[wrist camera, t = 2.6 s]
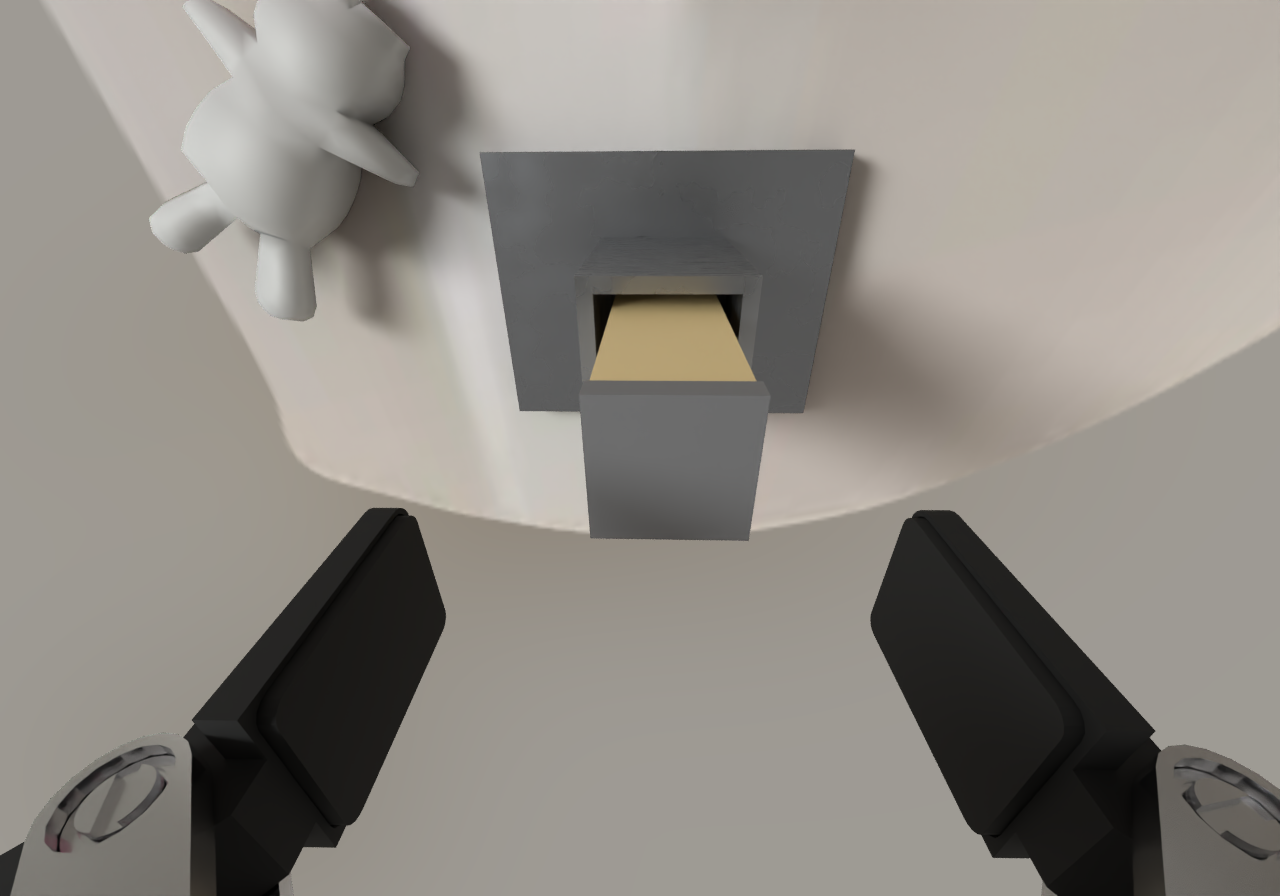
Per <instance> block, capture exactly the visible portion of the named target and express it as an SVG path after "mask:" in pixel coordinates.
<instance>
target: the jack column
mask: <svg viewBox="0 0 1280 896" xmlns="http://www.w3.org/2000/svg"><path fill="white" fill-rule="evenodd" d="M770 397H771V396H770V394H769V392H768V390H767V388H766V386H765V384H764V382H763V381H756V379H755V377H754V375H753V372H752V370H751V368H750V366H749V364H748V362H747V360H746V358H745V355H744V353H743V351H742V349H741V347H740V345H739V343H738V340H737V338H736V336H735V334H734V332H733V330H732V328H731V325H730V323H729V321H728V319H727V317H726V315H725V313H724V311H723V308H722V306H721V304H720V302H719V300H718V298H717V296H716V294H616V296H615V299H614V302H613V305H612V309H611V312H610V315H609V318H608V322H607V325H606V328H605V331H604V335H603V338H602V341H601V344H600V348H599V351H598V354H597V357H596V361H595V364H594V367H593V370H592V374H591V377H590V380H584V381H583V384H582V387H581V390H580V393H579V401H580V414H581V426H582V439H583V451H584V463H585V476H586V488H587V501H588V513H589V525H590V537H591V538H606V539H610V538H612V539H673V540H678V539H679V540H739V541H740V540H741V541H748V540H749V534H750V528H751V521H752V515H753V508H754V502H755V495H756V488H757V482H758V475H759V469H760V462H761V456H762V449H763V443H764V436H765V429H766V423H767V416H768V410H769V403H770Z"/></svg>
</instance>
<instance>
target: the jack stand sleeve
mask: <svg viewBox="0 0 1280 896" xmlns="http://www.w3.org/2000/svg"><path fill="white" fill-rule="evenodd" d="M854 152H855V150H742V151H612V152H482V153H480V158H481V164H482V171H483V177H484V183H485V190H486V196H487V203H488V209H489V216H490V222H491V228H492V235H493V241H494V248H495V254H496V261H497V267H498V273H499V280H500V286H501V293H502V299H503V306H504V312H505V319H506V325H507V331H508V338H509V344H510V351H511V357H512V364H513V370H514V376H515V383H516V389H517V396H518V402H519V409H520V411H580V401H579V393H580V390H581V387H582V384H583V381H584V380H590V377H591V374H592V370H593V367H594V364H595V361H596V357H597V354H598V351H599V348H600V344H601V341H602V338H603V335H604V331H605V328H606V325H607V322H608V318H609V315H610V312H611V309H612V305H613V302H614V299H615V296H616V294H716V296H717V298H718V300H719V302H720V304H721V306H722V308H723V311H724V313H725V315H726V317H727V319H728V321H729V323H730V325H731V328H732V330H733V332H734V334H735V336H736V338H737V340H738V343H739V345H740V347H741V349H742V351H743V353H744V355H745V358H746V360H747V362H748V364H749V366H750V368H751V370H752V372H753V375H754V377H755V379H756V381H763V382H764V384H765V386H766V388H767V390H768V392H769V394H770V396H771V397H770V403H769V410H768V413H803V411H804V406H805V401H806V396H807V391H808V386H809V381H810V376H811V371H812V366H813V361H814V355H815V350H816V345H817V340H818V335H819V330H820V325H821V320H822V315H823V310H824V304H825V299H826V294H827V289H828V284H829V279H830V274H831V269H832V264H833V259H834V254H835V248H836V243H837V238H838V233H839V228H840V223H841V218H842V213H843V208H844V203H845V197H846V192H847V187H848V182H849V177H850V172H851V167H852V162H853V157H854Z"/></svg>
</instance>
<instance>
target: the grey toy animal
mask: <svg viewBox="0 0 1280 896" xmlns="http://www.w3.org/2000/svg"><path fill="white" fill-rule="evenodd" d="M183 9H184V10H185V11H186V13H187V14H188V15H189V17H190V18H191V20H192V21H193V22H194V24H195V25H196V26H197V28H198V29H199V31H200V32H201V33H202V35H203V36H204V38H205V39H206V40H207V42H208V43H209V44H210V46H211V47H212V49H213V50H214V51H215V53H216V54H217V55H218V57H219V58H220V60H221V61H222V63H223V64H224V65H225V67H226V68H227V70H228V71H229V73H230V74H231V76H232V78H230V79H229V80H227V81H225V82H224V83H222V84H221V85H219V86H217V87H216V88H214V89H212V90H211V91H209V93H208V94H207V95H206V96H205V98H204V99H203V100H202V101H201V103H200V104H199V105H198V106H197V108H196V109H195V111H194V113H193V115H192V117H191V119H190V120H189V122H188V124H187V126H186V128H185V133H184V138H183V143H182V148H181V151H182V152H183V154H184V155H185V156H186V157H187V158H188V160H189V161H190V162H191V163H192V165H193V166H194V167H195V168H196V170H197V171H198V172H199V173H200V174H201V176H202V177H203V178H204V179H205V181H206V183H203V184H201V185H199V186H197V187H195V188H193V189H191V190H189V191H187V192H184V193H182V194H180V195H178V196H176V197H174V198H172V199H170V200H168V201H166V202H165V203H164V204H163V205H162V206H161V207H160V208H159V209H158V210H157V211H156V212H155V213H154V214H153V215H152V216H151V217H150V218H149V221H150V225H151V229H152V232H153V234H154V235H155V236H156V237H157V238H158V239H159V240H160V241H161V242H162V243H163V244H164V245H165V246H167V247H169V248H171V249H173V250H175V251H179V252H183V253H192V252H198V251H200V250H201V249H202V248H203V247H204V246H205V245H206V244H208V243H209V242H210V241H211V240H212V239H213V238H215V237H216V236H217V235H218V234H219V233H220V232H222V231H223V230H224V229H225V228H226V227H227V226H229V225H230V224H231V223H232V222H233V221H234V220H236V219H237V218H238V219H239V220H240V221H242V222H243V223H244V224H245V225H246V226H248V227H249V228H250V229H251V230H254V231H256V232H258V233H260V241H259V251H258V262H257V272H256V282H255V293H256V296H257V300H258V303H259V304H260V305H261V307H262V308H263V310H264V311H266V312H267V313H268V314H269V315H270V316H272V317H276V318H279V319H283V320H294V321H305V320H308V319H310V318H312V317H313V316H314V313H315V310H316V307H317V305H316V296H315V287H314V279H313V270H312V262H311V253H310V248H312V247H313V246H314V245H315V244H317V243H318V242H319V241H321V240H322V239H323V238H325V237H326V236H327V235H329V234H330V233H331V232H332V231H334V230H335V229H336V228H338V226H339V225H340V224H341V222H342V221H343V220H344V218H345V217H346V215H347V214H348V212H349V210H350V208H351V206H352V204H353V201H354V199H355V197H356V194H357V191H358V187H359V184H360V180H361V168H363V169H365V170H367V171H369V172H371V173H374V174H376V175H378V176H380V177H382V178H384V179H386V180H388V181H390V182H392V183H394V184H398V185H404V186H410V187H414V184H415V182H416V179H417V176H418V174H419V172H418V171H417V170H416V169H415V168H414V167H413V165H412V164H411V163H410V162H409V161H408V160H407V159H406V158H405V157H404V156H403V155H402V154H401V153H400V152H399V151H398V150H397V149H396V148H395V147H394V146H393V145H392V144H391V143H390V142H389V141H388V140H387V139H386V137H384V136H383V135H382V134H381V133H380V132H379V131H378V130H377V129H376V128H375V127H374V126H373V124H375V123H377V122H379V121H381V120H382V119H384V118H386V117H388V116H389V115H390V114H391V113H392V111H393V110H394V109H395V108H396V106H397V105H398V104H399V103H400V100H401V97H402V93H403V89H404V60H405V58H406V56H407V54H408V52H409V50H410V47H409V46H408V45H407V44H406V43H405V42H404V41H403V40H402V39H401V38H400V37H399V36H398V35H397V34H396V33H395V32H393V31H392V30H391V29H390V28H389V27H388V26H387V25H386V24H385V23H384V22H383V21H382V20H381V19H380V18H379V17H378V16H376V15H375V14H374V13H373V12H372V11H371V10H369V9H368V8H367V7H366V6H365V5H364V3H363V2H362V1H361V0H257V4H256V7H255V11H254V22H255V29H254V28H253V27H252V26H250V25H249V24H247V23H246V22H245V21H243V20H242V19H241V18H239V17H238V16H237V15H235V14H234V13H233V12H231V11H230V10H228V9H227V8H225V7H223V6H221V5H219V4H217V3H216V2H214V1H212V0H187V1H186V3H185V4H184V5H183Z"/></svg>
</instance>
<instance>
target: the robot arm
mask: <svg viewBox="0 0 1280 896" xmlns="http://www.w3.org/2000/svg"><path fill="white" fill-rule="evenodd" d="M445 620H446V613H445V608H444V605H443V602H442V599H441V596H440V592H439V589H438V586H437V582H436V579H435V576H434V573H433V570H432V567H431V564H430V560H429V557H428V554H427V551H426V548H425V545H424V541H423V538H422V535H421V532H420V529H419V525H418V522H417V520H416V518H415V517H414V516H409V515H408V513H407V511H406V510H405V509H402V508H372V509H369V510H368V511H367V512H365V513H364V515H363V516H362V517H361V518H360V520H359V521H358V522H357V523H356V524H355V525H354V527H353V528H352V529H351V530H350V531H349V532H348V534H347V535H346V536H345V537H344V538H343V540H342V541H341V542H340V543H339V545H338V546H337V547H336V548H335V549H334V550H333V552H332V553H331V554H330V555H329V556H328V558H327V559H326V560H325V561H324V562H323V564H322V565H321V566H320V567H319V568H318V570H317V571H316V572H315V573H314V574H313V576H312V577H311V578H310V579H309V580H308V582H307V583H306V584H305V585H304V586H303V588H302V589H301V590H300V591H299V592H298V593H297V595H296V596H295V597H294V598H293V599H292V601H291V602H290V603H289V604H288V605H287V607H286V608H285V609H284V610H283V612H282V613H281V614H280V615H279V616H278V617H277V619H276V620H275V621H274V622H273V624H272V625H271V626H270V627H269V628H268V630H267V631H266V632H265V633H264V634H263V635H262V637H261V638H260V639H259V640H258V641H257V643H256V644H255V645H254V646H253V647H252V648H251V650H250V651H249V652H248V653H247V654H246V656H245V657H244V658H243V659H242V660H241V662H240V663H239V664H238V665H237V666H236V668H235V669H234V670H233V671H232V672H231V674H230V675H229V676H228V677H227V679H226V680H225V681H224V682H223V683H222V684H221V686H220V687H219V688H218V689H217V690H216V692H215V693H214V694H213V695H212V696H211V698H210V699H209V700H208V701H207V702H206V703H205V705H204V706H203V707H202V708H201V710H200V711H199V712H198V713H197V714H196V715H195V717H194V718H193V719H192V721H193V722H194V723H195V724H194V725H193V726H192V728H191V729H190V730H189V731H188V733H187V734H186V735H185V736H184V737H182V736H180V735H179V734H171V733H159V734H153V735H148V736H143V737H141V738H138V739H136V740H133V741H131V742H128V743H126V744H123V745H121V746H119V747H117V748H116V749H114V750H112V751H110V752H108V753H107V754H105V755H103V756H101V757H100V758H98V759H97V760H95V761H94V762H92V763H91V764H90V765H88V766H87V767H86V768H84V769H83V770H82V771H80V772H79V773H78V774H76V775H75V776H74V777H72V778H71V779H70V780H69V781H68V782H67V783H66V784H65V785H64V786H63V787H62V788H61V789H60V790H59V791H58V792H57V793H56V794H55V795H54V796H53V797H52V798H51V799H50V800H49V801H48V803H47V804H46V805H45V807H44V808H43V809H42V811H41V812H40V813H39V814H38V816H37V817H36V819H35V820H34V822H33V824H32V826H31V828H30V831H29V833H28V835H27V837H26V839H25V842H23V843H21V844H20V845H18V846H16V847H14V848H13V849H11V850H9V851H7V852H6V853H4V854H2V855H0V896H294V894H293V887H292V880H291V870H292V868H293V866H294V864H295V862H296V860H297V858H298V856H299V854H300V852H301V850H302V848H303V847H334V848H335V847H336V846H337V844H338V842H339V840H340V838H341V836H342V833H343V831H344V829H345V827H346V825H351V824H352V823H354V822H355V821H356V819H357V818H358V817H359V815H360V813H361V811H362V809H363V807H364V805H365V803H366V801H367V798H368V796H369V794H370V792H371V789H372V787H373V785H374V783H375V781H376V778H377V776H378V774H379V771H380V769H381V767H382V765H383V763H384V760H385V758H386V756H387V754H388V752H389V749H390V747H391V745H392V743H393V740H394V738H395V736H396V734H397V732H398V729H399V727H400V725H401V723H402V720H403V718H404V716H405V714H406V712H407V709H408V707H409V705H410V703H411V700H412V698H413V696H414V694H415V692H416V689H417V687H418V685H419V683H420V680H421V678H422V676H423V673H424V671H425V669H426V667H427V665H428V663H429V660H430V658H431V656H432V654H433V651H434V649H435V647H436V645H437V642H438V640H439V638H440V636H441V634H442V631H443V629H444V626H445ZM871 627H872V631H873V634H874V636H875V638H876V640H877V642H878V644H879V646H880V648H881V650H882V652H883V654H884V656H885V658H886V660H887V662H888V664H889V666H890V668H891V670H892V672H893V674H894V676H895V679H896V681H897V682H898V685H899V687H900V689H901V690H902V693H903V695H904V697H905V699H906V701H907V703H908V705H909V707H910V709H911V711H912V713H913V715H914V717H915V719H916V721H917V723H918V725H919V727H920V729H921V731H922V733H923V735H924V737H925V740H926V741H927V744H928V745H929V748H930V750H931V752H932V754H933V756H934V758H935V760H936V762H937V763H938V766H939V768H940V770H941V772H942V774H943V776H944V778H945V780H946V782H947V784H948V786H949V788H950V790H951V792H952V794H953V796H954V798H955V800H956V803H957V805H958V806H959V809H960V811H961V813H962V815H963V817H964V818H965V820H966V822H967V824H968V825H969V826H970V828H971V829H972V830H973V831H974V832H975V833H977V834H980V835H982V837H983V839H984V841H985V843H986V845H987V847H988V849H989V851H990V853H991V855H992V857H993V858H1031V860H1032V862H1033V864H1034V866H1035V867H1036V869H1037V871H1038V873H1039V875H1040V876H1041V878H1042V880H1043V883H1042V894H1041V896H1280V789H1278V788H1277V787H1275V786H1274V785H1273V784H1271V783H1270V782H1269V781H1267V780H1266V779H1264V778H1263V777H1262V776H1260V775H1259V774H1257V773H1255V772H1254V771H1251V770H1250V769H1248V768H1246V767H1245V766H1243V765H1241V764H1239V763H1237V762H1236V761H1234V760H1232V759H1230V758H1227V757H1225V756H1222V755H1219V754H1217V753H1215V752H1212V751H1210V750H1207V749H1203V748H1198V747H1194V746H1189V745H1176V746H1168V747H1166V748H1165V749H1164V750H1162V751H1161V750H1160V749H1159V748H1158V747H1157V746H1156V745H1155V743H1154V742H1153V741H1152V740H1151V739H1150V738H1149V737H1150V736H1151V735H1152V734H1153V733H1154V732H1155V730H1154V729H1153V728H1152V727H1151V726H1150V724H1149V723H1148V722H1147V721H1146V720H1145V719H1144V718H1143V717H1142V716H1141V715H1140V714H1139V712H1137V710H1136V709H1135V708H1134V707H1133V706H1132V705H1131V704H1130V703H1129V702H1128V700H1127V699H1126V698H1125V697H1124V696H1123V695H1122V694H1121V693H1120V692H1119V691H1118V690H1117V688H1116V687H1115V686H1114V685H1113V684H1112V683H1111V682H1110V681H1109V680H1108V679H1107V677H1106V676H1105V675H1104V674H1103V673H1102V672H1101V671H1100V670H1099V669H1098V667H1096V665H1095V664H1094V663H1093V662H1092V661H1091V660H1090V659H1089V658H1088V657H1087V656H1086V654H1085V653H1084V652H1083V651H1082V650H1081V649H1080V648H1079V647H1078V646H1077V644H1076V643H1075V642H1074V641H1073V640H1072V639H1071V638H1070V637H1069V636H1068V635H1067V634H1066V633H1065V631H1064V630H1063V629H1062V628H1061V627H1060V626H1059V625H1058V624H1057V623H1056V622H1055V620H1054V619H1053V618H1052V617H1051V616H1050V615H1049V614H1048V613H1047V612H1046V611H1045V609H1044V608H1043V607H1042V606H1041V605H1040V604H1039V603H1038V602H1037V601H1036V600H1035V598H1034V597H1033V596H1032V595H1031V594H1030V593H1029V592H1028V591H1027V590H1026V589H1025V588H1024V586H1023V585H1022V584H1021V583H1020V582H1019V581H1018V580H1017V579H1016V578H1015V577H1014V575H1013V574H1012V573H1011V572H1010V571H1009V570H1008V569H1007V568H1006V567H1005V566H1004V565H1003V564H1002V562H1001V561H1000V560H999V559H998V558H997V557H996V556H995V555H994V554H993V553H992V551H991V550H990V549H989V548H988V547H987V546H986V545H985V544H984V543H983V541H982V540H981V539H980V538H979V537H978V536H977V535H976V534H975V533H974V532H973V531H972V529H971V528H970V527H969V526H968V525H967V524H966V523H965V522H964V521H963V520H962V518H961V517H960V516H959V515H957V514H956V513H955V512H953V511H950V510H920V511H917V512H916V513H915V514H914V515H913V517H912V518H908V519H906V520H905V522H904V524H903V526H902V529H901V532H900V534H899V537H898V540H897V543H896V546H895V548H894V551H893V554H892V557H891V559H890V562H889V565H888V568H887V571H886V574H885V576H884V579H883V582H882V585H881V587H880V590H879V593H878V596H877V599H876V601H875V604H874V607H873V610H872V613H871Z"/></svg>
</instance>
